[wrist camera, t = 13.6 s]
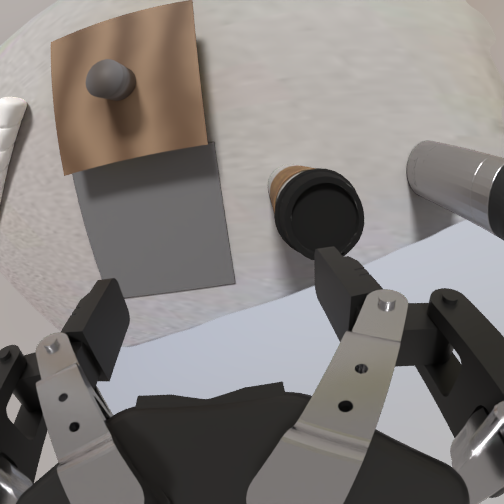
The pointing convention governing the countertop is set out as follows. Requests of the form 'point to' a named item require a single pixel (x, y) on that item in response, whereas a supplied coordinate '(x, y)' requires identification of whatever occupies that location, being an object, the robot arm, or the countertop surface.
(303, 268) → the countertop surface
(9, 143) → the unicorn horn
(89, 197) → the rubber mat
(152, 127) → the walnut lid
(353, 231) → the coffee cup
